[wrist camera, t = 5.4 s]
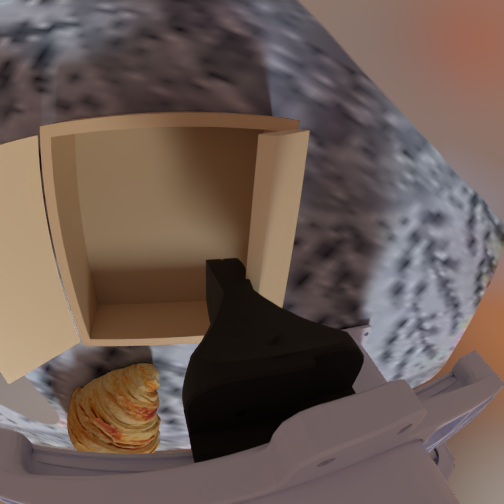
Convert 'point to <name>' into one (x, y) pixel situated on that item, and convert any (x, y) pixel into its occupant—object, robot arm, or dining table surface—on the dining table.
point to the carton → (148, 216)
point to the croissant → (117, 412)
